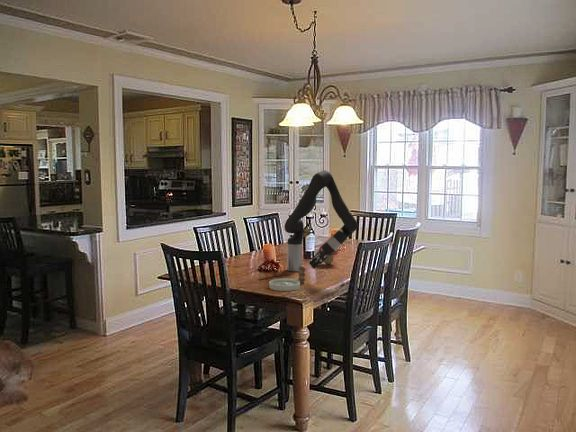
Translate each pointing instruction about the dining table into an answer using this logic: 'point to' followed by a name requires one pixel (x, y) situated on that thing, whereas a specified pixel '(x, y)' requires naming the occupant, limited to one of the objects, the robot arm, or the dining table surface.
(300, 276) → the bead stack
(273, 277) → the decorative berry sprig
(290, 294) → the dining table surface
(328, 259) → the decorative mushroom
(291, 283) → the tray
